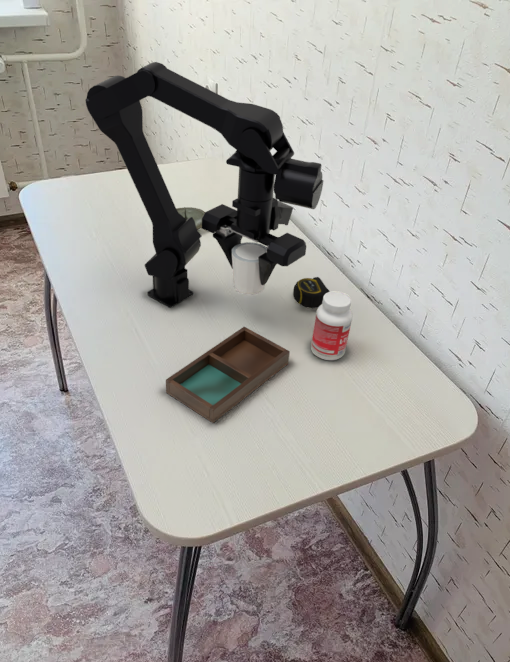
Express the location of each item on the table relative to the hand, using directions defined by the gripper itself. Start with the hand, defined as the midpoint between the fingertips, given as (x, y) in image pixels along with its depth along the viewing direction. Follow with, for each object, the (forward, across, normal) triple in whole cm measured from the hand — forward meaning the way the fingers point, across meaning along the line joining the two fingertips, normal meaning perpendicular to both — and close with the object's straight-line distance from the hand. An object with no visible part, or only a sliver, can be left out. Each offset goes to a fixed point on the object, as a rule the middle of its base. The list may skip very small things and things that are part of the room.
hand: (249, 277), depth 110 cm
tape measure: (+9, -6, -13) cm, 17 cm away
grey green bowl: (+9, +32, -17) cm, 37 cm away
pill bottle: (+9, -17, -2) cm, 19 cm away
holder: (+9, -9, +15) cm, 20 cm away
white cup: (+2, 0, 0) cm, 2 cm away
